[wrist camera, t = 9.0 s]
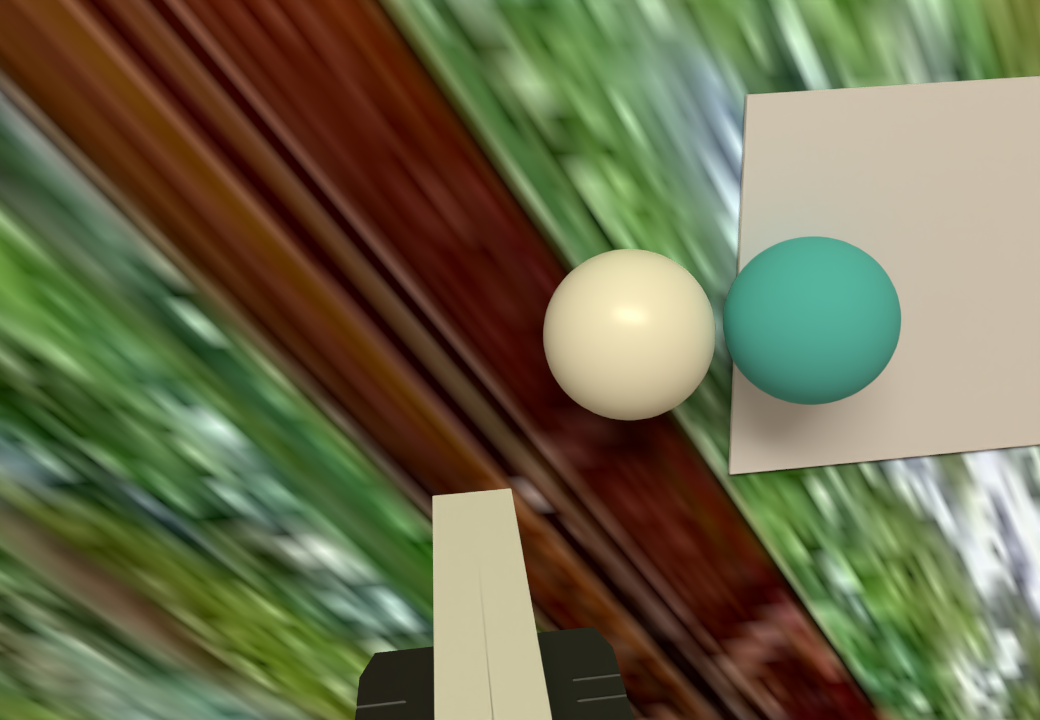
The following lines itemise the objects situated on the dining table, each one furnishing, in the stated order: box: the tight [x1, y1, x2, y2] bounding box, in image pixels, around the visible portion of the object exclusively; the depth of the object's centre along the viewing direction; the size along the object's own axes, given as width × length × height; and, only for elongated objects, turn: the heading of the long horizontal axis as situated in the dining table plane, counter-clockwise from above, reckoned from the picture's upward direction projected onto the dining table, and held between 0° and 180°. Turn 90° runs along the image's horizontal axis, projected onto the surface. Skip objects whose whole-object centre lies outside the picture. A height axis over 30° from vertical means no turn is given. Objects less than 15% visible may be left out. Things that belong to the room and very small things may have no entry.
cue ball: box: [543, 249, 716, 420], centre depth 27 cm, size 6×6×6 cm
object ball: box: [723, 236, 901, 405], centre depth 28 cm, size 6×6×6 cm
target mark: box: [728, 76, 1040, 474], centre depth 30 cm, size 14×14×1 cm
